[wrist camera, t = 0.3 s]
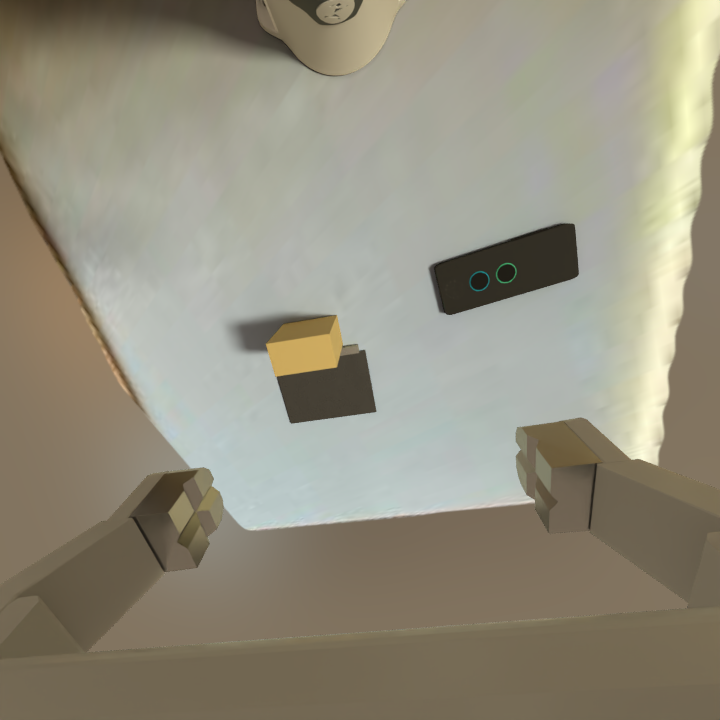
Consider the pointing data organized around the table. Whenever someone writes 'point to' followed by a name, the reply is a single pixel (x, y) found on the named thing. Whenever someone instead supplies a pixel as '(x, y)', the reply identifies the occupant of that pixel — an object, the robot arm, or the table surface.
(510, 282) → the smart home device
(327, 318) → the mustard block
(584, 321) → the table surface
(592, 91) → the table surface
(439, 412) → the table surface
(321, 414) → the topple stop
